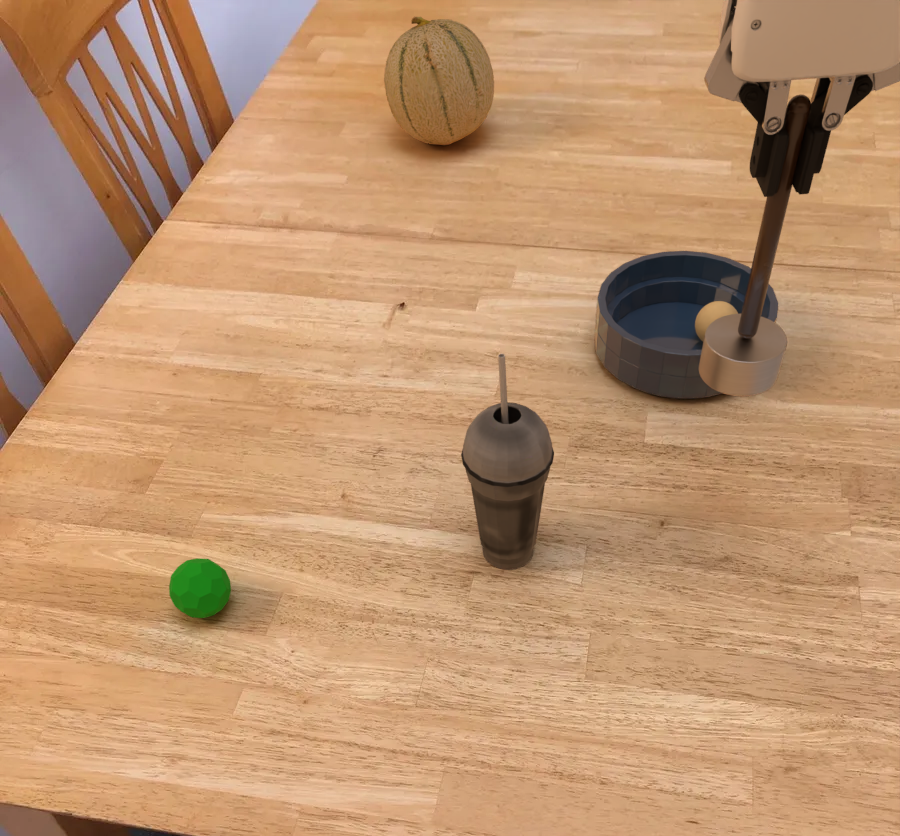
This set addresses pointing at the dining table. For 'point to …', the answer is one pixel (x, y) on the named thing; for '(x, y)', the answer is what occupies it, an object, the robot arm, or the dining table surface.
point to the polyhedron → (199, 588)
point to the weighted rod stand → (756, 293)
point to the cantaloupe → (439, 81)
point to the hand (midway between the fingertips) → (781, 183)
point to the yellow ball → (711, 315)
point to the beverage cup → (507, 477)
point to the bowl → (666, 318)
